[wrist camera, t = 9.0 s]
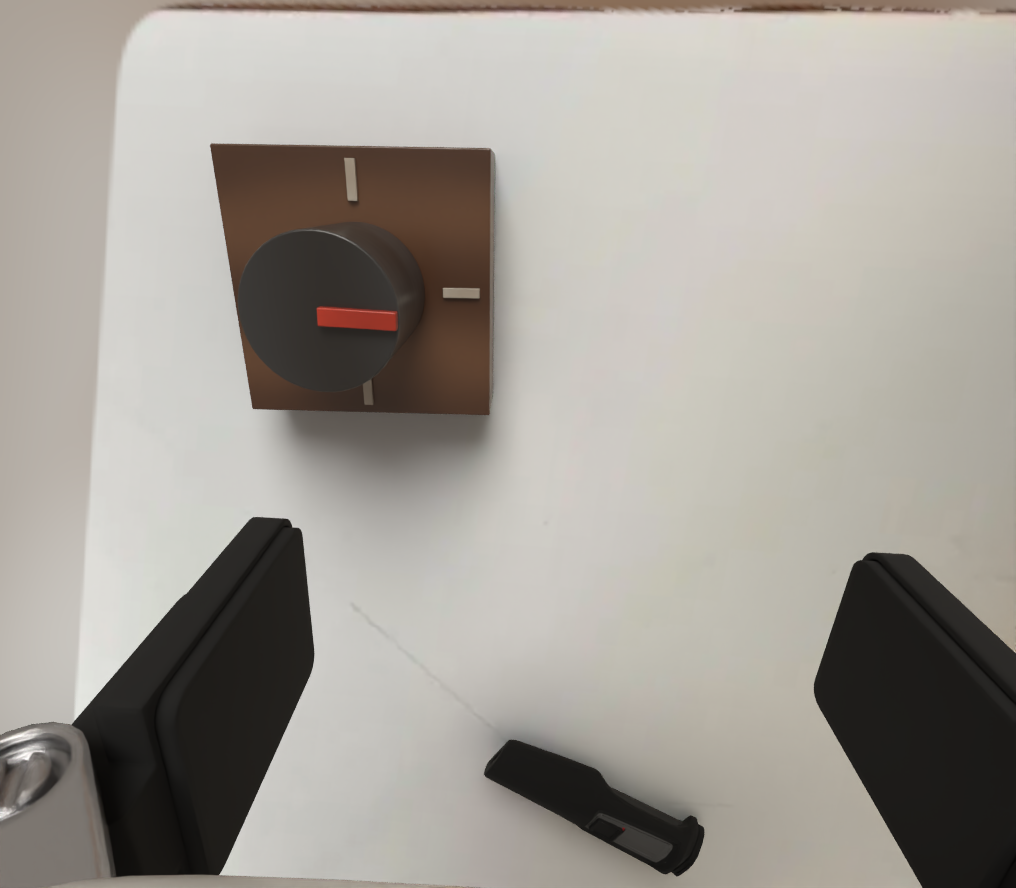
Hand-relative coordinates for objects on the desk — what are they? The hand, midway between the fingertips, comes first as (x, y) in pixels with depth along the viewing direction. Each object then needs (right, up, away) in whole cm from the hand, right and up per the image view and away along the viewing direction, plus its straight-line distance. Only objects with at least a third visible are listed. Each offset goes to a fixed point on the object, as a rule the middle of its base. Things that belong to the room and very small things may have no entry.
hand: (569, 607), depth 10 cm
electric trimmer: (+4, -19, +27) cm, 34 cm away
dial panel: (-7, +10, +15) cm, 19 cm away
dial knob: (-7, +9, +13) cm, 17 cm away
